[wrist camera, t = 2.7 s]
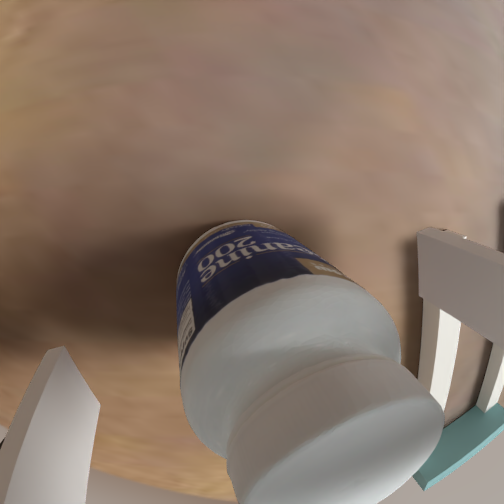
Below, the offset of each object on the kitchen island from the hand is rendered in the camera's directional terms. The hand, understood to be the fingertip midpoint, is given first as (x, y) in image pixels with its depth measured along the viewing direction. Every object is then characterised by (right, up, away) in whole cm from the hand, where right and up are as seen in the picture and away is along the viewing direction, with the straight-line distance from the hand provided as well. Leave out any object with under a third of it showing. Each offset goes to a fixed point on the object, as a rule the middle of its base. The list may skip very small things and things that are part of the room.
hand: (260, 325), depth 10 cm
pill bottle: (-1, +1, +3) cm, 4 cm away
